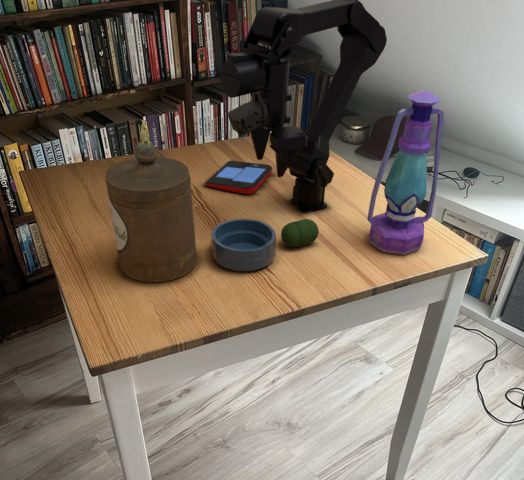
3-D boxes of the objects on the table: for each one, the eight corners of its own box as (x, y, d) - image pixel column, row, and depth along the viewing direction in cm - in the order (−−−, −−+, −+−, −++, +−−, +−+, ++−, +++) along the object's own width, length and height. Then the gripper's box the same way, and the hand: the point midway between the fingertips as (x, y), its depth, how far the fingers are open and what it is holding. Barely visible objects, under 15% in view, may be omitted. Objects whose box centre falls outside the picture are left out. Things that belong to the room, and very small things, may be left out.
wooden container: (128, 240, 115) (112, 132, 101) (200, 243, 115) (194, 135, 101) (111, 281, 104) (90, 167, 90) (191, 285, 104) (183, 170, 89)
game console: (229, 164, 145) (228, 156, 143) (275, 173, 141) (275, 165, 140) (203, 186, 135) (203, 177, 133) (252, 197, 131) (252, 188, 130)
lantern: (414, 226, 123) (447, 80, 103) (435, 254, 114) (475, 100, 94) (355, 230, 121) (378, 81, 101) (372, 259, 112) (400, 103, 92)
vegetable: (158, 220, 122) (148, 126, 109) (139, 217, 123) (127, 124, 109) (165, 210, 125) (155, 119, 112) (146, 208, 126) (135, 117, 113)
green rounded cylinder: (309, 231, 119) (312, 212, 115) (320, 246, 116) (324, 226, 113) (275, 239, 116) (278, 219, 113) (286, 254, 113) (289, 234, 110)
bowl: (257, 235, 118) (258, 213, 115) (285, 264, 110) (287, 242, 107) (202, 248, 114) (201, 226, 111) (227, 279, 106) (227, 256, 102)
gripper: (213, 78, 108) (215, 157, 119) (255, 108, 96) (254, 193, 106) (264, 72, 112) (262, 149, 122) (312, 100, 100) (305, 183, 110)
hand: (269, 167), depth 115 cm, fingers open, 9 cm apart
